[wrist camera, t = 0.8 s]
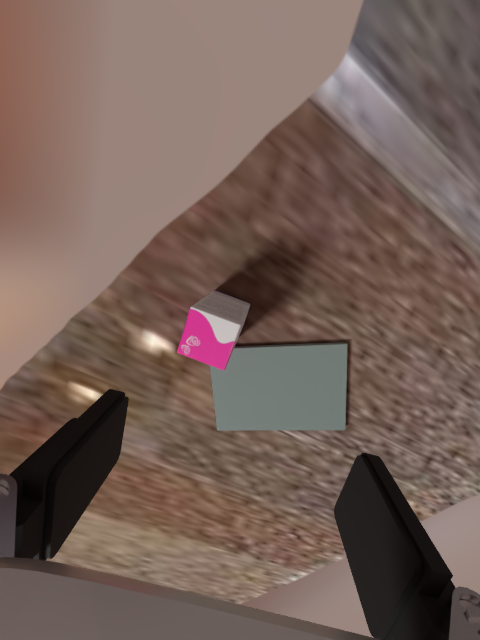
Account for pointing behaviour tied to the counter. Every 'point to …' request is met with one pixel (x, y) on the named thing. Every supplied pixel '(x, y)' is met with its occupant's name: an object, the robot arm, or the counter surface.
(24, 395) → the counter surface
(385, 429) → the counter surface
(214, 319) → the supplement box
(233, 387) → the rubber mat
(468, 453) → the counter surface
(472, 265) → the counter surface
